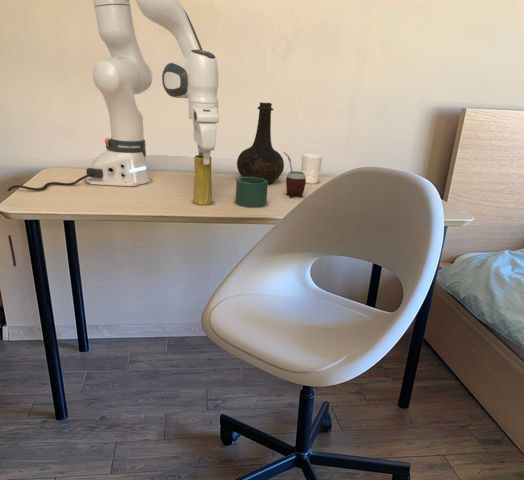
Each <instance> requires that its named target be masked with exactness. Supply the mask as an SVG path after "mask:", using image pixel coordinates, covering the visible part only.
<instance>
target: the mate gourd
mask: <svg viewBox="0 0 524 480" xmlns="http://www.w3.org/2000/svg"><path fill="white" fill-rule="evenodd" d="M283 154H284V155H285V156H286V157H287V160H288V162H289V167H290V171H289V172H288V173H287V175H286V178H285V186H286V193H285V195H287V196H289V198H290V199H291V198H295V197H297V198H303V197H304V196H303V194H304V191H305V187H306V184H307V183H306V177H305V174H304V173H302V172H301V171H294V170H293V166H292V165H293V164H292V160H291V157H290V156H289V154H288V153H286V151H283Z"/></svg>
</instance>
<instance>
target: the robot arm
mask: <svg viewBox="0 0 524 480" xmlns="http://www.w3.org/2000/svg"><path fill="white" fill-rule="evenodd" d="M135 2H136V5H137V7H138V9H139V10H140V11H141V13H142V15H143V16H144V17H145V18H147V20H149V21H151V22H153V23H155V24H157V25H159V26H160V27H162V28H164V29H165V30H167V31H168V32H169V33H171V34H172V36H173V37H174V38H175V40H176V42H177V43H178V45H179V46H178V47H179V48H180V51H181V53H182V54H183V57H182V58H181V59H178V60H175V61H173V62H168V63H167V64H166V65H165V66H164V68H163V71H162V74H161V82H162V86H163V89H164V91H165V92H166V94H167V96H170V97H171V98H174V99H175V98H176V99H188V119H189V120H192V124H193V140H194V142H195V143H196V146H197V152H198V153H197V155H203V163H204V164H209V158H210V156H211V151H215V148H216V142H217V141H216V140H217V126H218V125H217V123H219V119H220V118H219V117H220V116H219V99H218V98H219V97H218V90H219V66H218V61H217V57H216V56H215V55H214V54H213V53H212V52H210V51H207V50H203V48H202V45H201V43H200V40H199V37H198V35H197V33H196V31H195V28H194V25H193V24H192V21H191V19H190V17H189V15H188V13H187V12H186V10H185V9H184V7H183V6H182V3H180V1H179V0H135ZM93 5H94V7H93V8H94V11H95V12H94V13H95V19H96V23H97V28H98V35H99V37H100V40H101V41H102V42H103V43H104V44H105V46H106V48H107V50H108V52H109V53H110V57H106V58H104V59H101V60H99V61H98V62H97V63H96V64H95V65H94V66H93V69H92V81H93V83H94V85H95V87H96V88H97V89H98V91H99V92H100V94H101V95H102V96H103V100H104V103H105V104H106V108H107V111H108V116H109V124H110V125H109V126H110V135H111V136H110V138H109V137H106V138H104V143H105V148H106V150H104V151H103V152H102V153H101V154H99V156H97V157H96V158H95V159H94V160H93V162H92V165H91V167H87V168H86V170H85V171H86V174H85V175H83V176H81V177H80V178H78V179H76V180H75V181H72V182H59V181H51V182H47V183H45V184H44V185H42V186H41V187H30V186H26V185H22V184H16V185H12V186H10V187H9V188H7V190H6V191H7V192H10V191H12V190H13V189H17V188H19V189H20V188H21V189H25V190H29V191H37V192H38V191H42V190H45V189H47V187H48V186H52V185H58V186H59V185H60V186H73V185H77V184H78V183H79V182H81V181H83V180H85V182H86V183H88V184H90V185H102V186H117V187H118V186H120V187H135V186H138V185H144V184H148V183H150V182H151V178H150V175H149V170H148V166H147V159H146V156H147V144H146V140H145V134H144V117H143V114H142V113H141V111H140V110H139V108H138V105H137V102H136V100H135V95H140V94H142V93H144V92H145V91H147V90H148V89H149V88H150V87H151V85H152V83H153V73H152V70H151V68H150V66H149V65H148V64H147V62H146V61H145V58H144V56H143V54H142V50H141V49H140V46H139V43H138V39H137V36H136V31H135V27H134V21H133V15H132V14H133V13H132V7H131V0H93ZM7 238H8V242H9V247H10V252H11V258H12V264H13V267H16V266H17V261H16V256H15V251H14V246H13V245H14V244H13V242H12V241H13V240H12V235H7Z"/></svg>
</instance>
